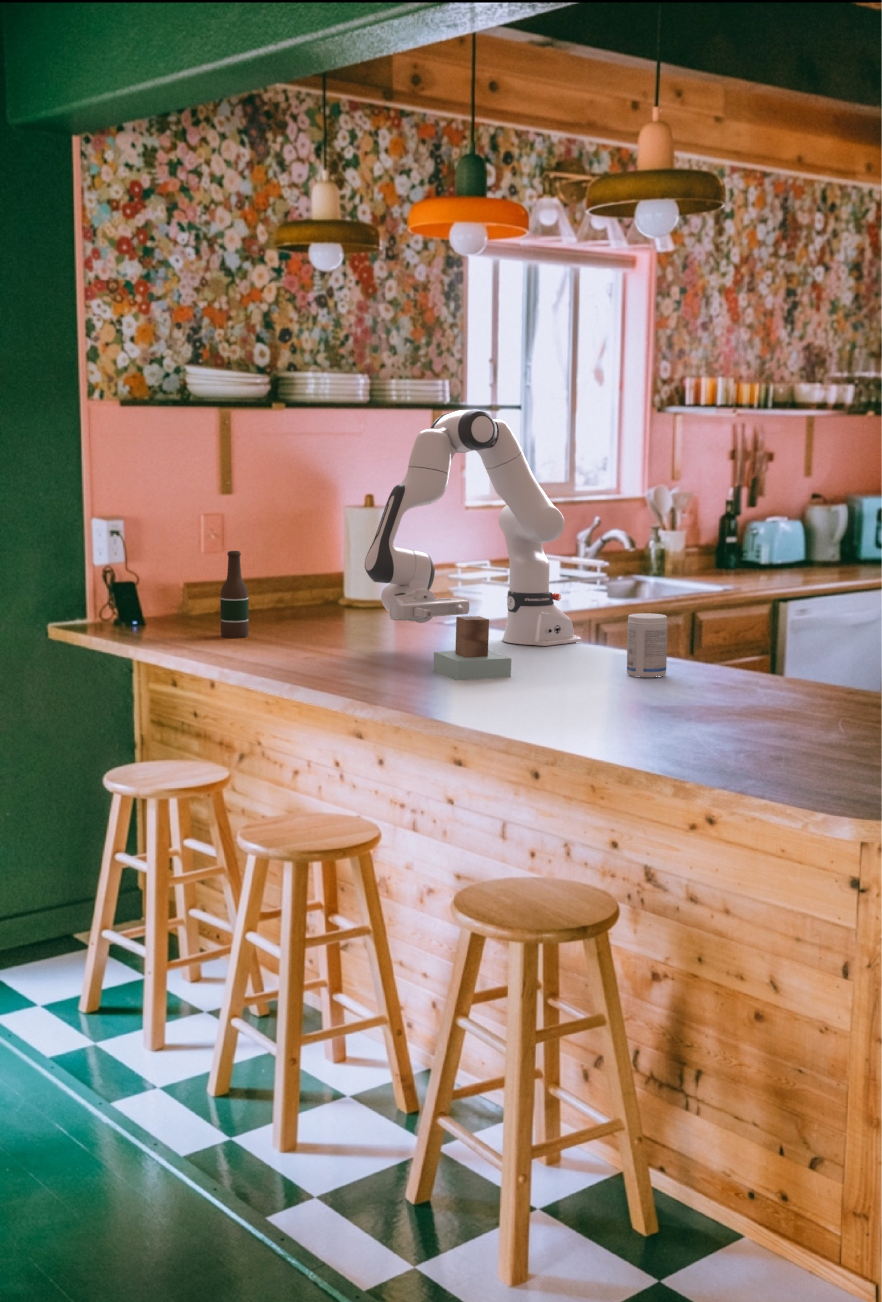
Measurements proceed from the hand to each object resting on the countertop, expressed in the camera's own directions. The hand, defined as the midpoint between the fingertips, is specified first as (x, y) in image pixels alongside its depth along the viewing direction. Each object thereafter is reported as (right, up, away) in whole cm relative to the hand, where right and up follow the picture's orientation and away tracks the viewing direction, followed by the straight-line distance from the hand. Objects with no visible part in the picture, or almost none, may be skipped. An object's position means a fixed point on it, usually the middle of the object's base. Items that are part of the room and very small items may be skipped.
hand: (445, 612), depth 331 cm
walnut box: (+6, -11, -11) cm, 17 cm away
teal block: (+6, -16, -10) cm, 20 cm away
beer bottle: (-59, -6, +42) cm, 73 cm away
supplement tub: (+49, -16, -9) cm, 52 cm away
